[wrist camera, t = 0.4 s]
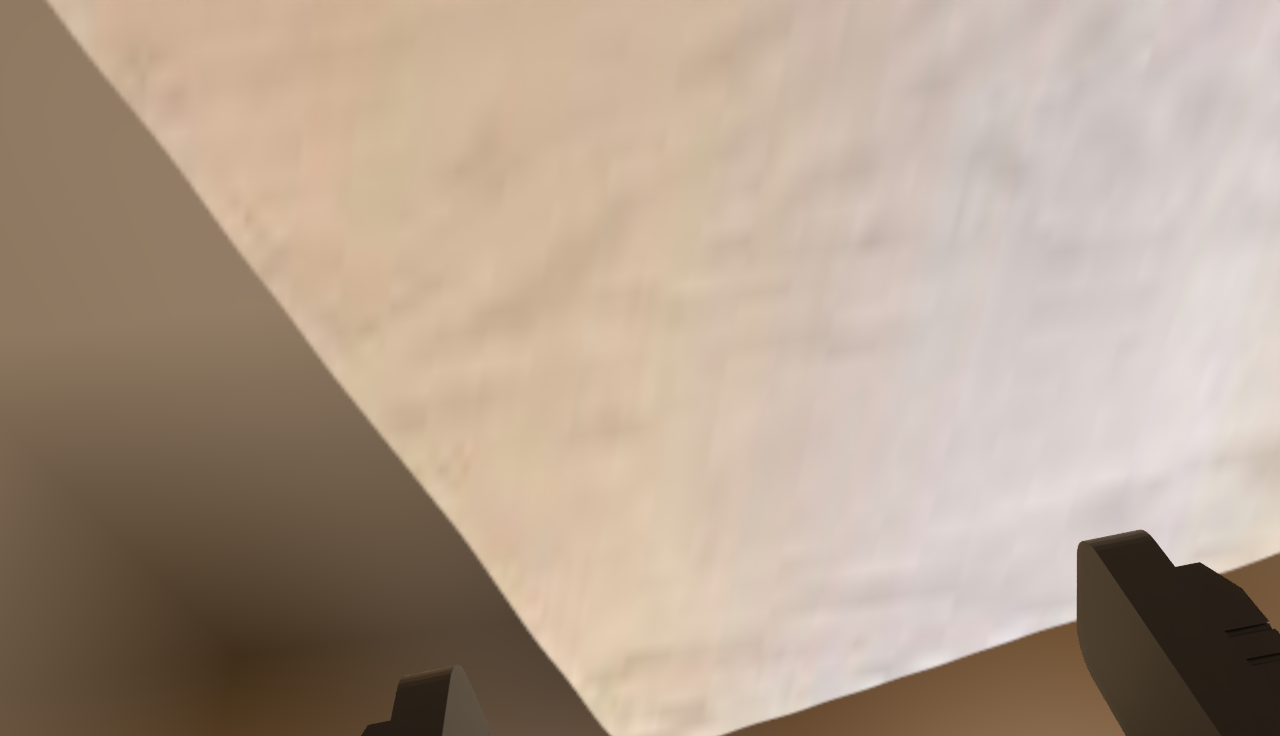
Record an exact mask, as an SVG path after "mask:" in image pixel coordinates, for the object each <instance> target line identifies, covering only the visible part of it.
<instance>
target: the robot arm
mask: <svg viewBox="0 0 1280 736" xmlns="http://www.w3.org/2000/svg"><path fill="white" fill-rule="evenodd" d="M1077 633H1078V639H1079V644H1080V648H1081V650H1082V654H1083V657H1084V660H1085V663H1086V665H1087V668H1088V670H1089V672H1090V674H1091V676H1092V678H1093V680H1094V681H1095V683H1096V685H1097V687H1098V688H1099V690H1100V692H1101V693H1102V695H1103V697H1104V699H1105V700H1106V702H1107V704H1108V706H1109V707H1110V709H1111V711H1112V713H1113V714H1114V716H1115V718H1116V720H1117V721H1118V723H1119V725H1120V726H1121V728H1122V730H1123V732H1124V733H1125V735H1126V736H1280V634H1279V633H1278V631H1277V630H1276V629H1272V628H1271V626H1270V622H1269V621H1268V619H1267V618H1266V617H1265V616H1264V615H1263V614H1262V612H1261V611H1260V610H1259V609H1258V607H1257V606H1256V605H1255V604H1254V603H1253V601H1252V600H1251V599H1250V598H1249V597H1248V595H1247V594H1246V593H1245V592H1244V591H1243V589H1242V588H1240V587H1239V586H1237V585H1236V584H1234V583H1232V582H1231V581H1229V580H1228V579H1226V578H1224V577H1223V576H1221V575H1220V574H1218V573H1216V572H1215V571H1213V570H1212V569H1210V568H1208V567H1207V566H1205V565H1203V564H1202V563H1200V562H1199V563H1193V564H1188V565H1183V566H1178V567H1175V566H1174V565H1173V563H1172V562H1171V561H1170V560H1169V558H1168V557H1167V556H1166V554H1165V553H1164V552H1163V551H1162V549H1161V548H1160V547H1159V545H1158V544H1157V543H1156V541H1155V540H1154V539H1153V538H1152V537H1151V535H1149V534H1148V533H1147V532H1146V531H1144V530H1136V531H1131V532H1126V533H1121V534H1116V535H1111V536H1106V537H1101V538H1096V539H1091V540H1086V541H1082V542H1080V543H1079V545H1078V549H1077ZM361 736H493V734H492V732H491V730H490V727H489V725H488V723H487V721H486V718H485V716H484V714H483V711H482V709H481V707H480V704H479V702H478V700H477V698H476V695H475V693H474V691H473V688H472V686H471V684H470V682H469V679H468V677H467V675H466V673H465V671H464V669H463V668H462V667H461V666H460V665H455V666H450V667H445V668H440V669H435V670H430V671H425V672H420V673H415V674H410V675H405V676H403V677H402V678H401V679H400V682H399V684H398V687H397V692H396V697H395V702H394V707H393V712H392V717H391V721H386V722H381V723H377V724H371V725H368V726H367V727H366V729H365V730H364V732H363V734H362V735H361Z"/></svg>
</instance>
